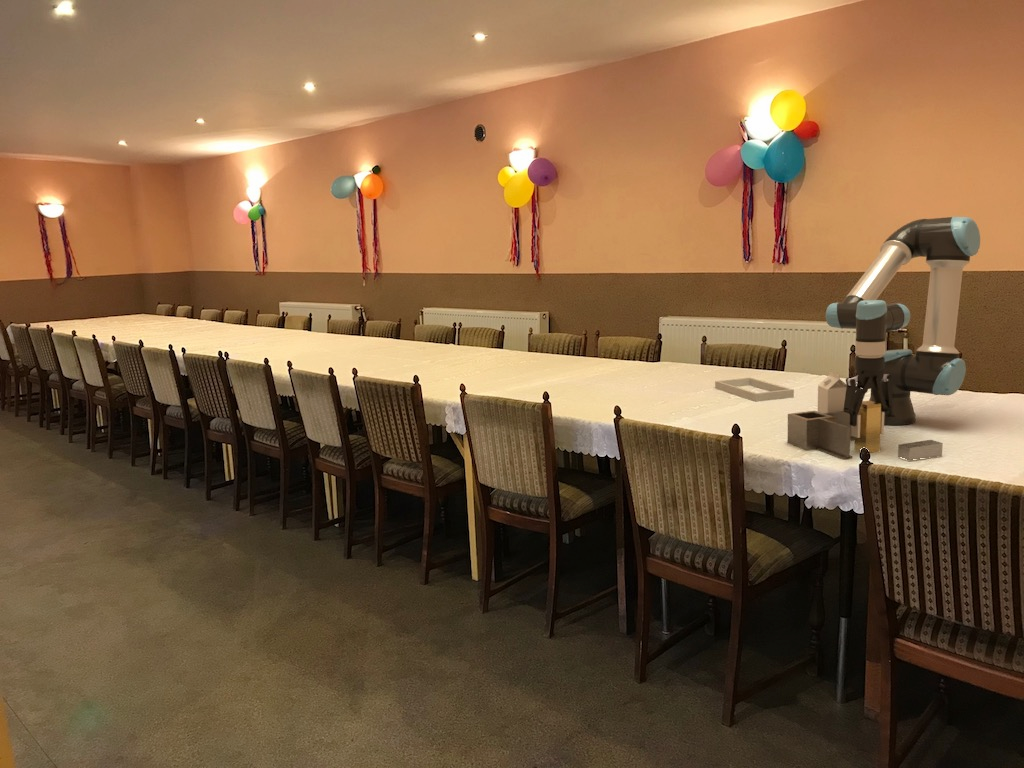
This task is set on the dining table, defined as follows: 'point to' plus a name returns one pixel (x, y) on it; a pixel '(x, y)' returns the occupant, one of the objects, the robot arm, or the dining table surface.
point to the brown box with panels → (821, 432)
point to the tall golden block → (869, 426)
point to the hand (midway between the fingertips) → (867, 434)
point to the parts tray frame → (775, 393)
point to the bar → (920, 449)
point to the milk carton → (831, 394)
